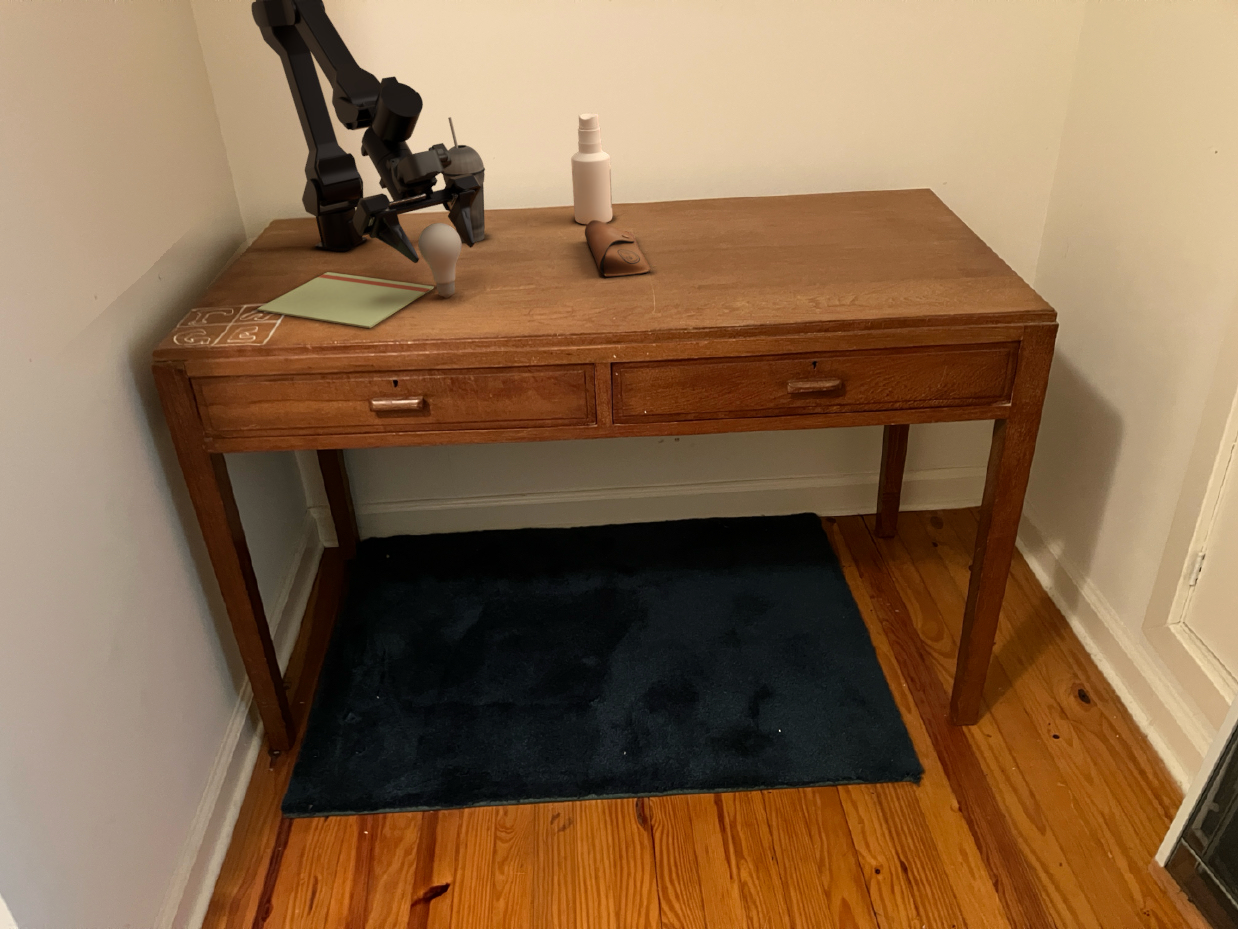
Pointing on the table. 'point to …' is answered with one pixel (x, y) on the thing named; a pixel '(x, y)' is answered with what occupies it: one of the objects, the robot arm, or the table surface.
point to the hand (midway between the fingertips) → (445, 253)
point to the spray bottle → (591, 174)
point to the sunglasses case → (615, 250)
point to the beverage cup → (471, 163)
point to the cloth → (347, 299)
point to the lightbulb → (441, 255)
